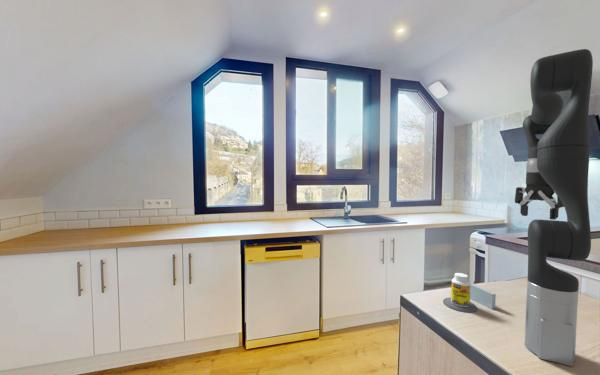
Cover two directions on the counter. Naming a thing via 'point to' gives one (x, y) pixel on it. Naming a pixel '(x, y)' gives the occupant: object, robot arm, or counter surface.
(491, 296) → the low wall
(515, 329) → the counter surface
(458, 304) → the supplement bottle
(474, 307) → the resting mat
